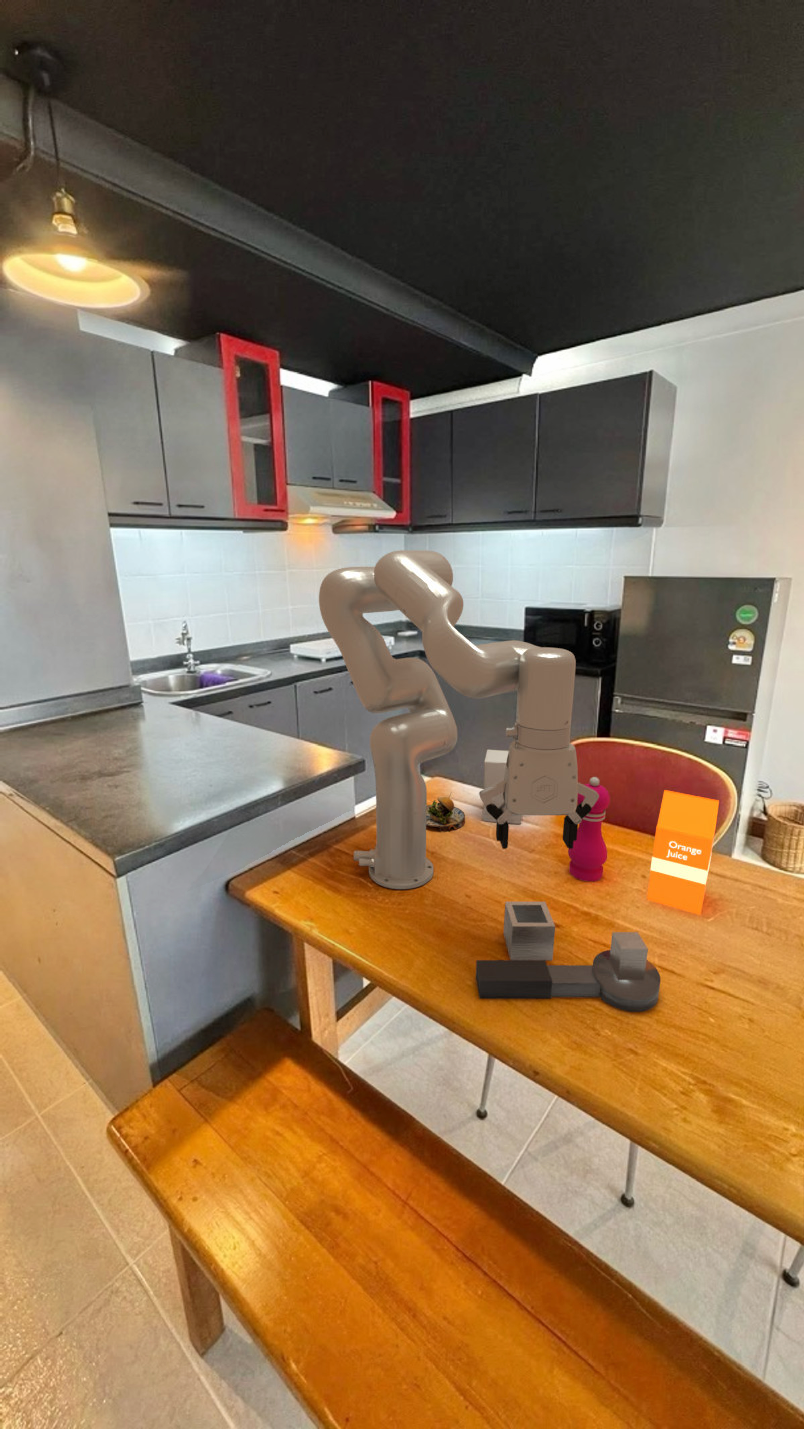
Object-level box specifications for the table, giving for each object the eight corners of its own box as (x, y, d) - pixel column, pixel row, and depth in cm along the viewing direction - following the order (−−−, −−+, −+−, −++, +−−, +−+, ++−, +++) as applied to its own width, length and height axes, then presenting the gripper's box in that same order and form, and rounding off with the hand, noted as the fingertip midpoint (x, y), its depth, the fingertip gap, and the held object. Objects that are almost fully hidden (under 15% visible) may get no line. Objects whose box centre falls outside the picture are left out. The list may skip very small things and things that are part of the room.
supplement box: (521, 809, 141) (525, 751, 137) (521, 825, 132) (525, 763, 128) (484, 805, 143) (486, 748, 139) (481, 821, 134) (484, 760, 130)
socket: (510, 960, 88) (512, 926, 87) (503, 933, 94) (505, 901, 93) (552, 960, 88) (555, 926, 87) (542, 933, 94) (545, 901, 93)
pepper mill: (600, 864, 116) (610, 771, 110) (609, 884, 109) (620, 785, 103) (563, 862, 116) (571, 769, 111) (569, 882, 109) (578, 784, 104)
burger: (416, 809, 141) (417, 781, 139) (465, 811, 140) (466, 783, 138) (412, 832, 130) (412, 801, 128) (465, 834, 128) (466, 803, 126)
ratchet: (481, 1012, 78) (484, 962, 76) (473, 966, 87) (475, 920, 85) (669, 1012, 78) (676, 962, 76) (642, 966, 87) (648, 920, 85)
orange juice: (700, 915, 99) (718, 808, 94) (646, 899, 104) (659, 797, 99) (705, 893, 106) (721, 792, 100) (653, 879, 110) (666, 782, 105)
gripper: (485, 743, 78) (481, 857, 83) (612, 743, 78) (601, 857, 83) (478, 728, 86) (474, 833, 90) (594, 727, 86) (585, 833, 90)
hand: (535, 844), depth 86 cm, fingers open, 9 cm apart
